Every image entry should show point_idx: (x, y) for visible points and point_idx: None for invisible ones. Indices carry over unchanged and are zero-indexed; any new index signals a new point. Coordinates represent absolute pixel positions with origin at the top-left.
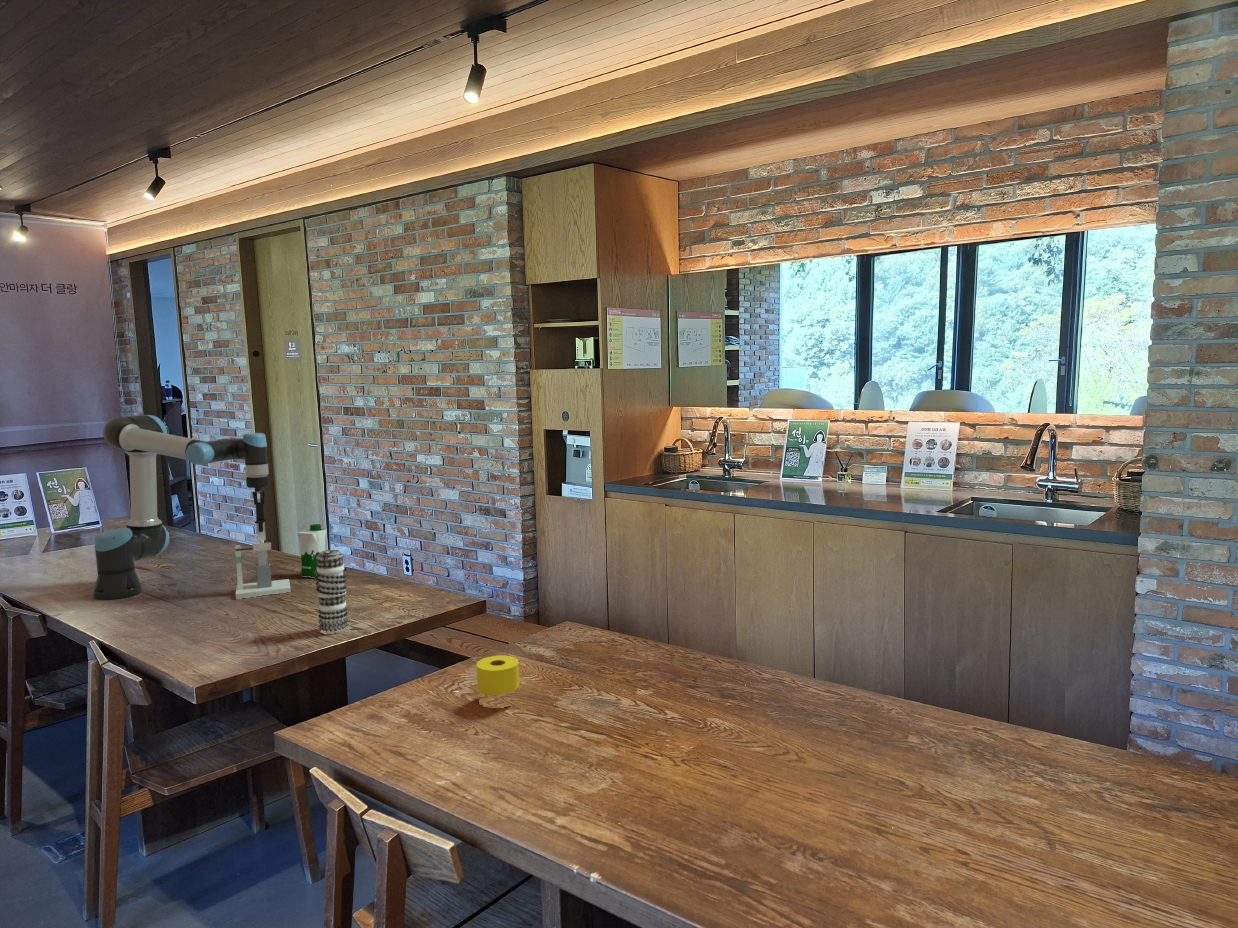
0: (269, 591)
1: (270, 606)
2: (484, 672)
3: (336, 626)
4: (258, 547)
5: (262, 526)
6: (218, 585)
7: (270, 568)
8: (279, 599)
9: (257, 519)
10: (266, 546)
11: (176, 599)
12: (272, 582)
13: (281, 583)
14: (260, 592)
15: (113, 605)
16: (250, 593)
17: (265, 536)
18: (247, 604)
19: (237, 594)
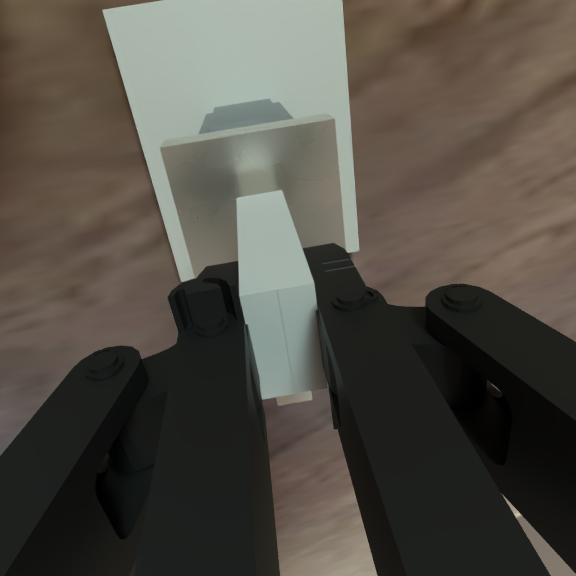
0: (347, 99)
1: (546, 63)
2: None
3: None
4: (342, 229)
5: (357, 279)
6: (83, 356)
7: (279, 112)
8: (438, 32)
9: (503, 404)
10: (336, 161)
11: (268, 431)
12: (174, 108)
13: (212, 48)
14: (350, 144)
15: (280, 546)
16: (353, 190)
17: (285, 202)
18: (455, 178)
19: (358, 242)
